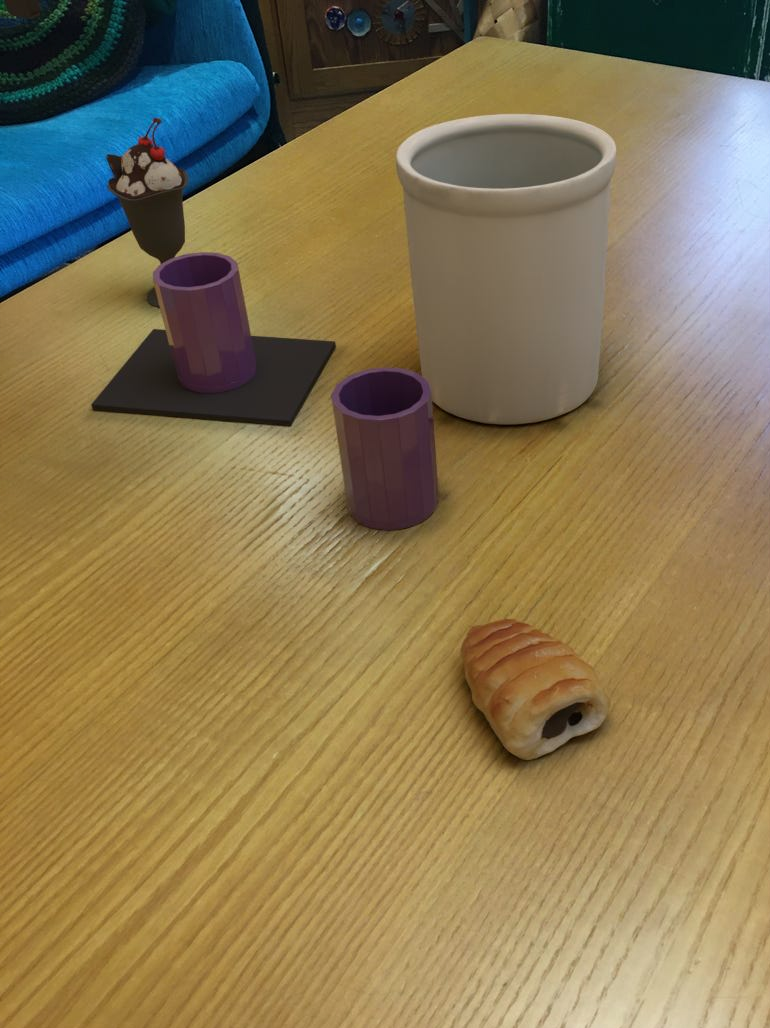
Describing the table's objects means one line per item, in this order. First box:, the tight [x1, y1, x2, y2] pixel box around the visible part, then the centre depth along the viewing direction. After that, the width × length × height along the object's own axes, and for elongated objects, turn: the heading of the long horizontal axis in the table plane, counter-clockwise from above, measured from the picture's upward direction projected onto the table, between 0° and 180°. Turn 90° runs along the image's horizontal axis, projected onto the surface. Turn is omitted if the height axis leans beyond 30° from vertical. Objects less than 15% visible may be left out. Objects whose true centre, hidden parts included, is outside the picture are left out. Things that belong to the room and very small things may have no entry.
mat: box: [90, 328, 337, 427], centre depth 87 cm, size 16×12×1 cm
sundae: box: [105, 117, 189, 308], centre depth 93 cm, size 7×7×15 cm
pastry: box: [460, 618, 611, 761], centre depth 60 cm, size 9×7×4 cm
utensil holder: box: [395, 113, 617, 425], centre depth 80 cm, size 15×15×18 cm
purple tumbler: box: [330, 366, 439, 531], centre depth 72 cm, size 6×6×8 cm
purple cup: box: [152, 251, 257, 393], centre depth 84 cm, size 6×6×8 cm
